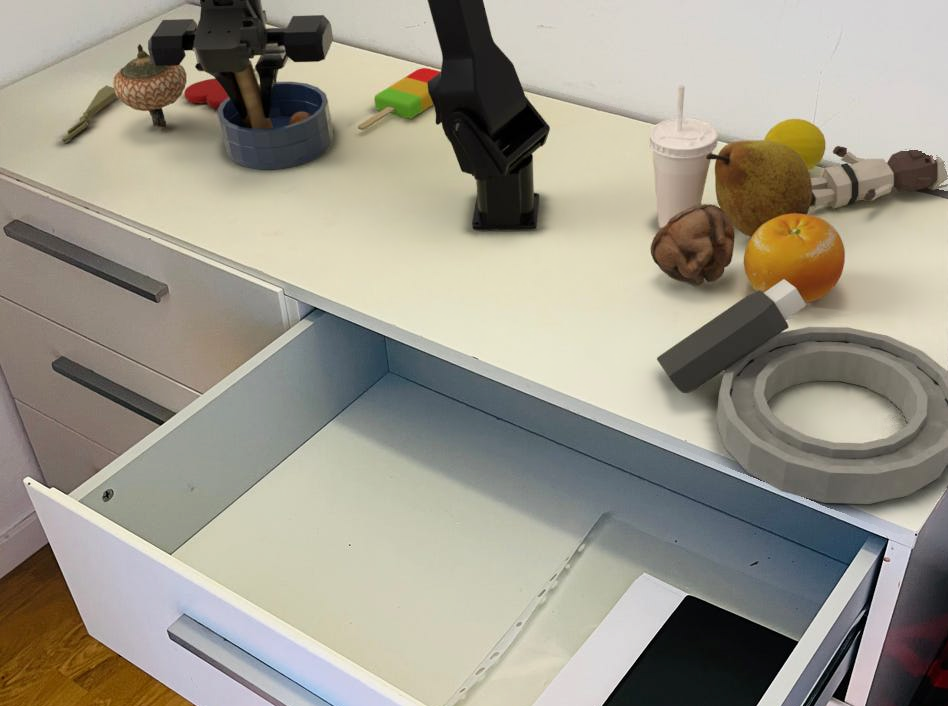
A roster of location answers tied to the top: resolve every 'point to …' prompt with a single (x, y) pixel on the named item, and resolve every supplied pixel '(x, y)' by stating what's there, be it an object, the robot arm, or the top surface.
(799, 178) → the fruit
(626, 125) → the top surface
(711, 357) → the usb drive
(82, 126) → the olive green tapered piece
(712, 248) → the brown walnut half
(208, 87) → the lollipop
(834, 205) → the toy
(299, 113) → the bead
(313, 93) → the bowl
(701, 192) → the smoothie
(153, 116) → the acorn
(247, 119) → the bead
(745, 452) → the mechanical component
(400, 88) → the popsicle
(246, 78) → the stick
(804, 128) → the fruit
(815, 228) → the fruit
